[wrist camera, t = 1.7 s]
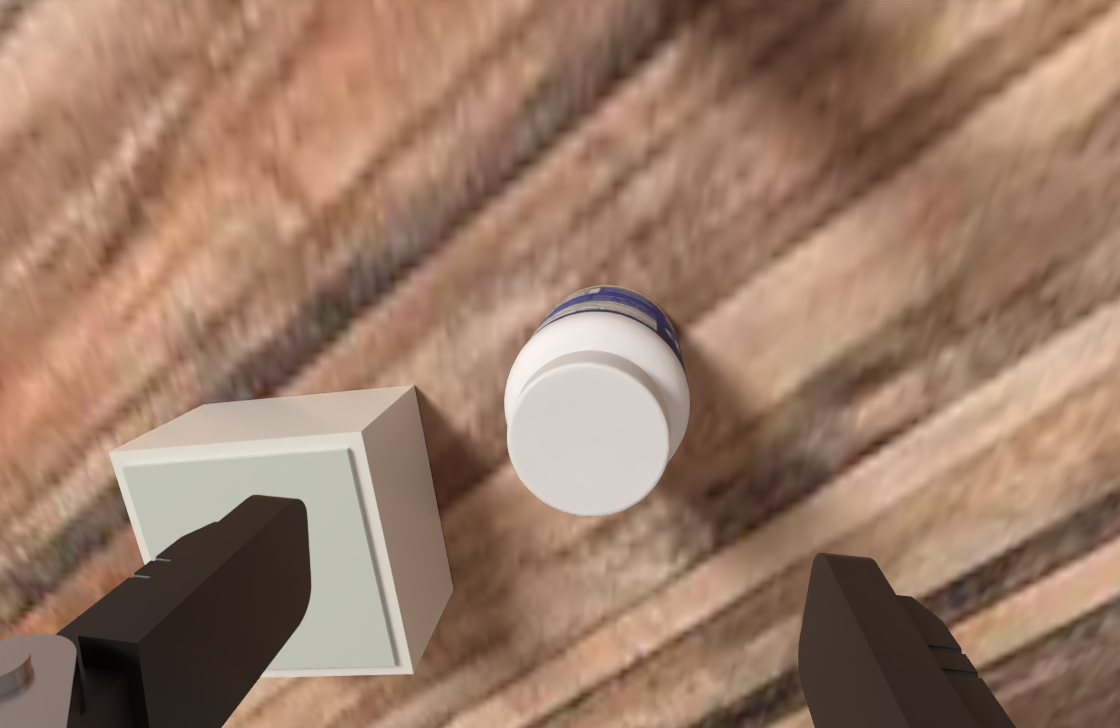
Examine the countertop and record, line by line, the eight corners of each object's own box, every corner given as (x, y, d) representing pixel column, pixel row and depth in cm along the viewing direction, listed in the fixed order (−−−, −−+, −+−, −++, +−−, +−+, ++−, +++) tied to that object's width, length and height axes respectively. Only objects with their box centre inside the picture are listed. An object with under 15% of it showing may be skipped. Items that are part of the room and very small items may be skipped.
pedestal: (414, 385, 26) (358, 433, 21) (453, 589, 28) (411, 678, 23) (203, 404, 27) (104, 454, 22) (257, 598, 29) (177, 683, 24)
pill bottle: (671, 429, 25) (683, 557, 16) (533, 414, 25) (475, 530, 17) (688, 288, 23) (711, 349, 15) (541, 275, 24) (483, 327, 16)
